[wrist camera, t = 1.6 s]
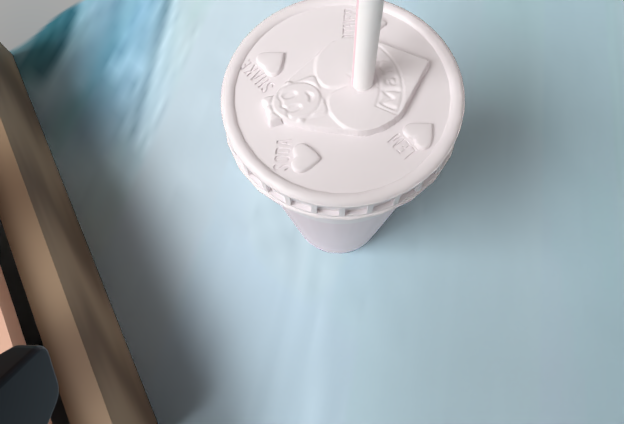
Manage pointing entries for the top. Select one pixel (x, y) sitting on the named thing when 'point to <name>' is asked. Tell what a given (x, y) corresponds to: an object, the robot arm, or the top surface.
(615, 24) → the top surface
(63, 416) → the trapdoor
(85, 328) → the frame
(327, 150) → the smoothie
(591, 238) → the top surface
